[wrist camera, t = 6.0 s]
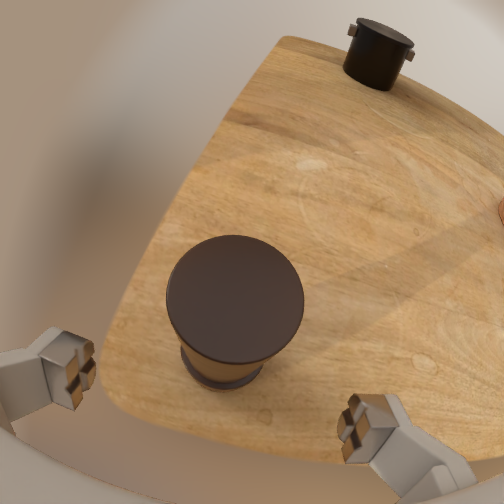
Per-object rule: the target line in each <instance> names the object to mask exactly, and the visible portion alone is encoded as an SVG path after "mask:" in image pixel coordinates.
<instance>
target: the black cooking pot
mask: <svg viewBox="0 0 504 504" xmlns="http://www.w3.org/2000/svg"><path fill="white" fill-rule="evenodd" d="M356 23H357V24H358V25H357V26H356V25H353V24H350V27H349V30H348V35H349V36H353V39H352V42H351V45H350V48H349V50H348V53H347V56H346V59H345V62H344V65H343V70H344V71H345V72H346V73H347V74H348V75H349V76H350V77H352V78H353V79H355V80H356V81H358V82H360V83H362V84H364V85H366V86H368V87H371V88H374V89H377V90H381V91H389V90H391V89H392V87H393V85H394V83H395V81H396V78H397V76H398V74H399V72H400V70H401V68H402V66H403V63H404V61H405V59H406V60H408V61H410V62H411V61H412V60H413V58H414V55H415V53H414V51H413V50H411V49H412V48H413V47H414V43H413V42H412V41H411V40H410V39H408V38H407V37H406V36H404V35H403V34H401V33H399V32H397V31H396V30H394V29H392V28H390V27H388V26H385V25H383V24H381V23H378V22H375V21H372V20H369V19H364V18H358V19H357V21H356Z"/></svg>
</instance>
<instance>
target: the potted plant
mask: <svg viewBox="0 0 504 504" xmlns="http://www.w3.org/2000/svg"><path fill="white" fill-rule="evenodd" d="M499 215H500V217H501V220H502V222H503V225H504V197H503V199H502V201H501V203H500V205H499Z"/></svg>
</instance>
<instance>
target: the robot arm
mask: <svg viewBox="0 0 504 504" xmlns="http://www.w3.org/2000/svg"><path fill="white" fill-rule="evenodd" d="M93 353H94V344H93V343H92V341H90V340H88V339H85V338H83V337H80V336H78V335H75V334H73V333H70V332H68V331H65V330H62V329H60V328H58V327H55V326H52V327H50V328H49V329H47V330H46V331H45V332H44V333H43V334H42V335H40V336H39V337H38V338H37V339H36V340H35V341H34V342H33V343H31V344H30V345H29V346H28V347H27V348H26V349H23V348H19V349H14V350H10V351H4V352H0V504H176V503H171V502H167V501H163V500H159V499H156V498H152V497H148V496H145V495H142V494H139V493H135V492H132V491H129V490H126V489H123V488H120V487H118V486H114V485H112V484H109V483H107V482H104V481H102V480H99V479H97V478H94V477H92V476H89V475H87V474H85V473H82V472H80V471H78V470H76V469H74V468H72V467H70V466H67V465H65V464H63V463H61V462H59V461H57V460H55V459H53V458H52V457H50V456H48V455H46V454H44V453H42V452H40V451H39V450H37V449H35V448H33V447H32V446H30V445H28V444H27V443H25V442H23V441H22V440H20V439H19V438H17V437H16V435H15V432H14V430H13V428H12V426H11V424H10V422H12V421H15V420H17V419H19V418H21V417H23V416H25V415H28V414H30V413H32V412H34V411H36V410H38V409H40V408H42V407H45V406H47V405H49V404H51V403H52V402H54V403H56V404H59V405H61V406H63V407H66V408H68V409H70V410H73V411H75V410H76V408H77V407H78V405H79V404H80V402H81V401H82V399H83V394H82V392H84V391H86V390H89V389H90V387H91V386H92V384H93V382H94V379H95V376H96V363H95V361H94V360H93V358H92V357H91V356H92V355H93ZM348 405H349V408H348V409H346V410H345V411H343V412H342V414H341V416H340V418H339V420H338V425H337V433H338V438H339V439H340V440H341V441H342V442H343V443H344V445H343V446H342V448H341V450H342V453H343V457H344V461H345V464H362V463H369V464H368V465H369V466H370V467H371V468H372V469H373V470H374V471H375V472H376V473H377V474H378V475H379V476H380V477H381V478H382V479H383V480H384V481H385V482H386V483H387V484H388V485H389V487H390V488H391V489H392V490H393V491H394V492H396V494H397V495H398V496H399V497H400V498H401V499H399V500H398V501H397V502H396V503H395V504H504V472H502V473H500V474H498V475H496V476H494V477H491V478H489V479H487V480H484V481H482V482H478V480H477V478H476V477H475V475H474V473H473V471H472V470H471V467H470V466H469V464H468V462H467V460H466V458H465V457H463V456H462V455H460V454H458V453H457V452H455V451H454V450H452V449H451V448H449V447H448V446H446V445H445V444H443V443H442V442H440V441H439V440H437V439H436V438H434V437H433V436H431V435H430V434H428V433H427V432H425V431H424V430H422V429H421V428H420V427H418V426H413V424H412V422H411V421H410V419H409V417H408V415H407V413H406V411H405V409H404V407H403V405H402V404H401V402H400V400H399V398H398V396H397V395H395V394H357V393H354V394H353V395H352V396H351V397H350V399H349V401H348Z"/></svg>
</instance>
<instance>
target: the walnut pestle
mask: <svg viewBox="0 0 504 504" xmlns="http://www.w3.org/2000/svg"><path fill="white" fill-rule="evenodd" d="M166 306H167V311H168V315H169V318H170V321H171V324H172V326H173V328H174V330H175V332H176V334H177V337H178V339H179V341H180V343H181V356H182V360H183V363H184V365H185V367H186V369H187V371H188V372H189V373H190V375H191V376H192V377H193V379H194V380H195V381H196V382H197V383H198V384H200V385H201V386H203V387H204V388H206V389H209V390H211V391H215V392H229V391H233V390H236V389H239V388H240V387H242V386H244V385H246V384H248V383H249V382H251V381H252V380H253V379H254V378H255V377H256V376H257V375H258V374H259V372H260V371H261V369H262V367H263V365H264V363H265V362H267V361H268V360H269V359H271V358H272V357H273V356H274V355H276V354H277V353H278V352H279V351H281V350H282V349H283V348H284V347H285V346H286V345H287V344H288V343H289V342H290V341H291V340H292V338H293V337H294V335H295V334H296V332H297V330H298V328H299V326H300V324H301V320H302V317H303V312H304V292H303V288H302V284H301V281H300V278H299V276H298V274H297V272H296V270H295V268H294V267H293V266H292V264H291V263H290V261H289V260H288V259H287V258H286V257H285V256H284V255H283V254H282V253H281V252H279V251H278V250H277V249H275V248H274V247H273V246H271V245H269V244H267V243H265V242H263V241H261V240H258V239H255V238H252V237H248V236H241V235H224V236H219V237H214V238H211V239H208V240H205V241H203V242H201V243H199V244H198V245H196V246H194V247H193V248H191V249H190V250H189V251H188V252H186V253H185V255H184V256H183V257H182V258H181V259H180V260H179V261H178V263H177V264H176V265H175V267H174V269H173V271H172V273H171V275H170V278H169V281H168V285H167V291H166Z"/></svg>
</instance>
